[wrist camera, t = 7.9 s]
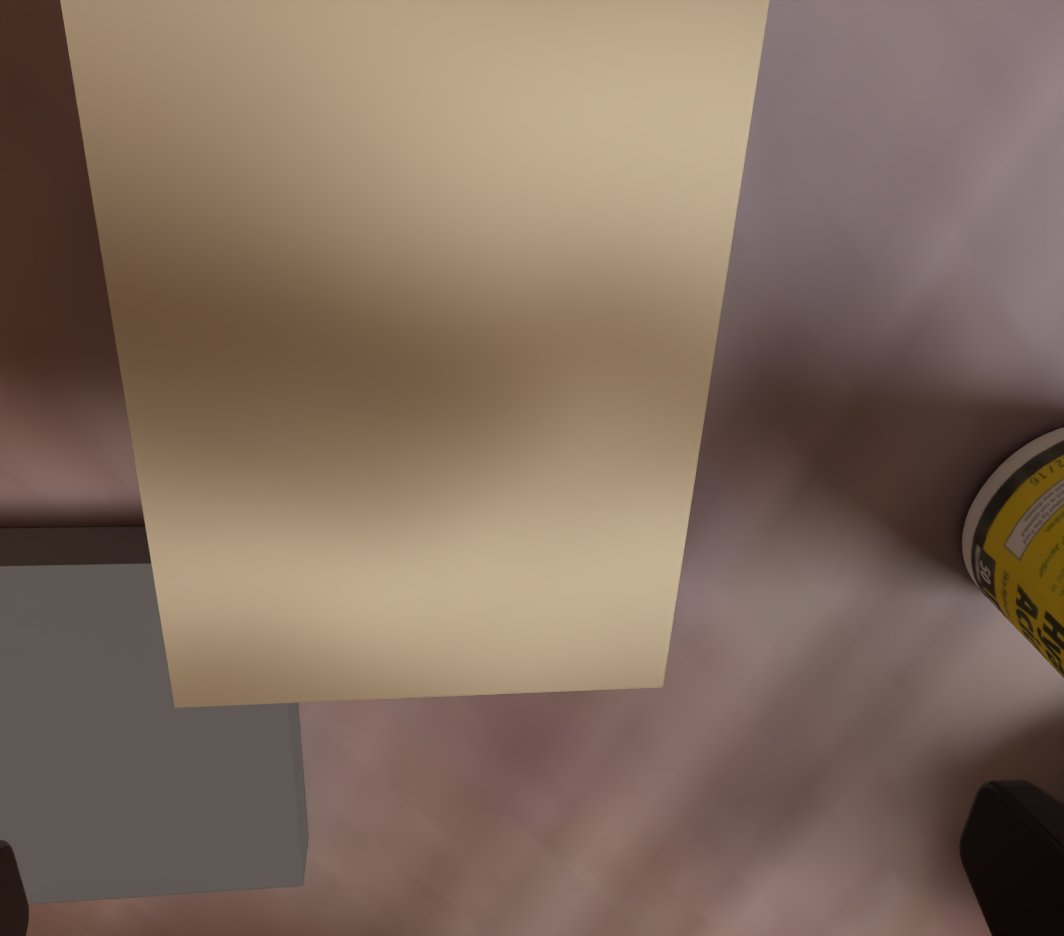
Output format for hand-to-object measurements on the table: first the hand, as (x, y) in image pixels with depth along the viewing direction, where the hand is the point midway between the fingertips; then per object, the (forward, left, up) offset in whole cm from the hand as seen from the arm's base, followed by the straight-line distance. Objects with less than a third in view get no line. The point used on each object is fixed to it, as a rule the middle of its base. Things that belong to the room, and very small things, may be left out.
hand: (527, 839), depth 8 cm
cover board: (+2, +1, -7) cm, 7 cm away
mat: (-9, +9, -12) cm, 17 cm away
